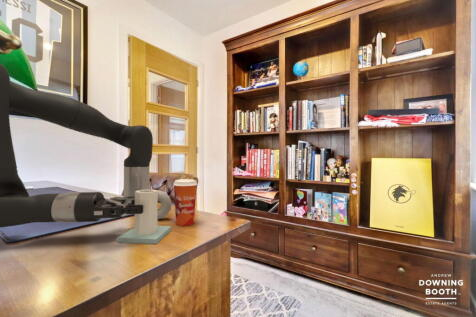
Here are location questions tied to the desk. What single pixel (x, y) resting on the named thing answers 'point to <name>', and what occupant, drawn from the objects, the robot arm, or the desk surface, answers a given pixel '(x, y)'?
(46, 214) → the robot arm
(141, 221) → the white octagonal tube
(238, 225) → the desk surface
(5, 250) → the desk surface
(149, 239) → the peg stand
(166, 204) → the donut
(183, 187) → the paper cup
